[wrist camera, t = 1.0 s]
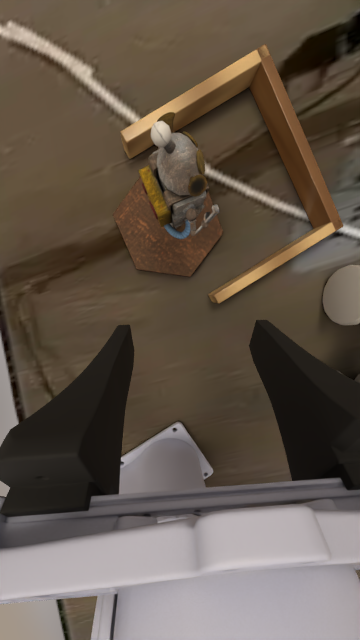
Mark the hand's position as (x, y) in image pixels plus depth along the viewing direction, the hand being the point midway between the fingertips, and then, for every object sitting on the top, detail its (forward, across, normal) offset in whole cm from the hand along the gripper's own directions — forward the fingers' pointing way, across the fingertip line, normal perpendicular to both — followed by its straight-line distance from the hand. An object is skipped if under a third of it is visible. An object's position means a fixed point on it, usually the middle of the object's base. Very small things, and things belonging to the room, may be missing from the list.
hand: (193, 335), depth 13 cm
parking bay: (+16, -6, -5) cm, 17 cm away
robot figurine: (+14, +1, -2) cm, 14 cm away
